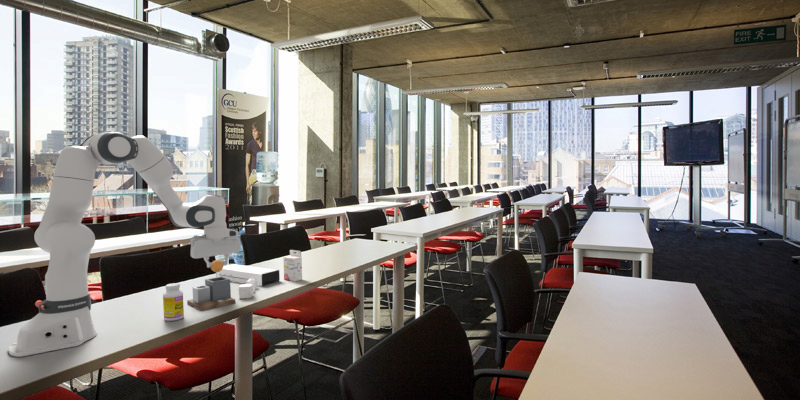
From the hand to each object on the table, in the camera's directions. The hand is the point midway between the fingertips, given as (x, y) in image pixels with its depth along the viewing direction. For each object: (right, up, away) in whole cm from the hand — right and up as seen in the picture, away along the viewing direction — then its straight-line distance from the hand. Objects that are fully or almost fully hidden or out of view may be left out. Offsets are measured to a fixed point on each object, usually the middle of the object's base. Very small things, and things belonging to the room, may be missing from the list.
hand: (217, 265), depth 188 cm
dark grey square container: (0, -14, +1) cm, 14 cm away
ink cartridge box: (+23, -13, +38) cm, 47 cm away
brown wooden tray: (-2, -15, -2) cm, 16 cm away
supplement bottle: (-7, -17, -21) cm, 28 cm away
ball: (0, 0, 0) cm, 0 cm away
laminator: (0, -14, +40) cm, 42 cm away
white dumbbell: (+9, -15, +15) cm, 22 cm away
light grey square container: (-5, -14, -4) cm, 15 cm away
